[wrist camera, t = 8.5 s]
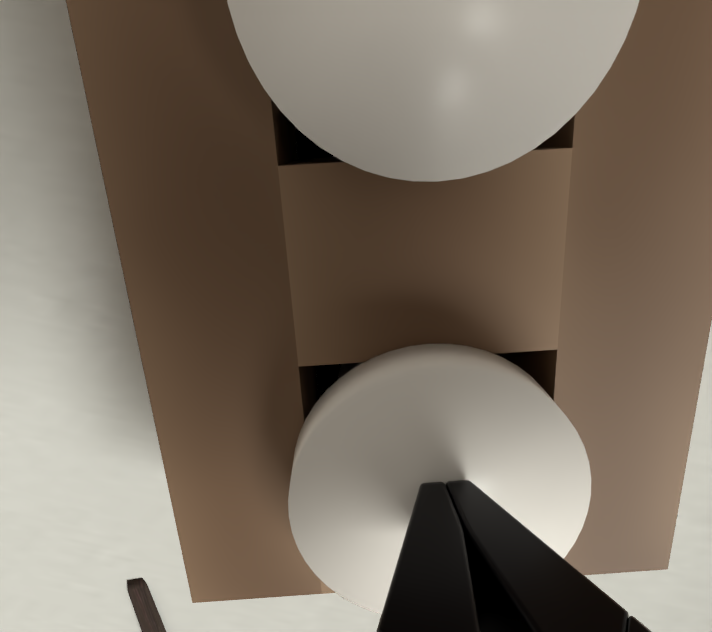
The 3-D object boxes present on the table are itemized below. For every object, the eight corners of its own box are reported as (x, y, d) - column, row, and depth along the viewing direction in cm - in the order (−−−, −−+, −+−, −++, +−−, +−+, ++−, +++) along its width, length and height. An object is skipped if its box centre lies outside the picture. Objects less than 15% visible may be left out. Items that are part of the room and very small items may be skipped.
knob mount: (706, -803, 8) (1078, -1763, 4) (581, 458, 14) (667, 569, 11) (27, -774, 7) (-298, -1735, 4) (231, 481, 14) (192, 602, 11)
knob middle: (529, -127, 10) (681, -343, 5) (517, 160, 11) (626, 170, 7) (254, -112, 10) (186, -318, 5) (283, 174, 11) (249, 193, 7)
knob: (512, 282, 12) (605, 356, 8) (504, 467, 14) (578, 610, 10) (295, 296, 12) (271, 378, 8) (313, 479, 14) (303, 630, 10)
